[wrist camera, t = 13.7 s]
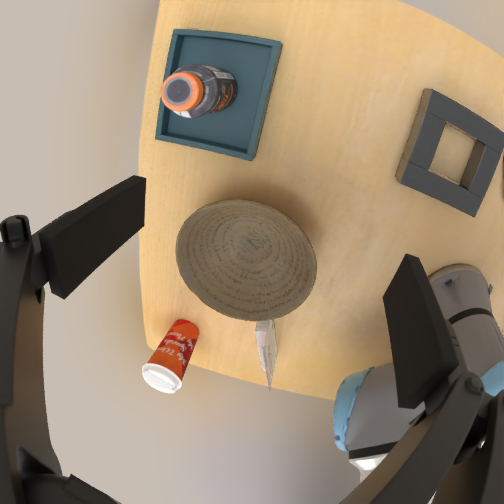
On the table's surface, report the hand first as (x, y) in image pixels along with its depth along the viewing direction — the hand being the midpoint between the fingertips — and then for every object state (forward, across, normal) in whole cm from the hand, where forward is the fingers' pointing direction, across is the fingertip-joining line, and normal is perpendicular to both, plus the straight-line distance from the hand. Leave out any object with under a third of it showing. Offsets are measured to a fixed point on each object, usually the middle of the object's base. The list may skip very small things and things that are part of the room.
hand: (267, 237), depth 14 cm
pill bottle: (+26, +12, -5) cm, 29 cm away
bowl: (+27, +3, +15) cm, 31 cm away
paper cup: (+27, +13, +40) cm, 50 cm away
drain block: (+26, -19, -6) cm, 33 cm away
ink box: (+27, -3, +34) cm, 43 cm away
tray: (+26, +12, -5) cm, 29 cm away
